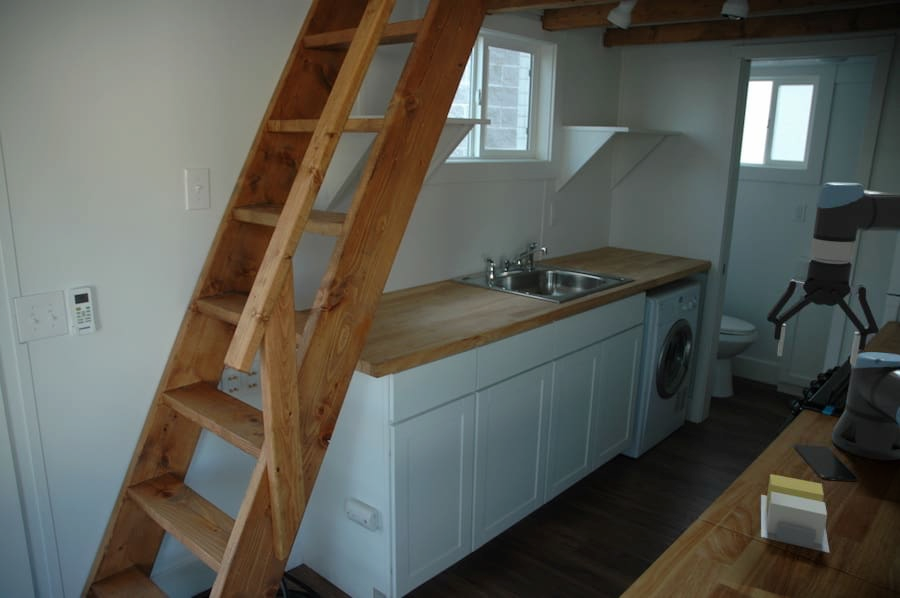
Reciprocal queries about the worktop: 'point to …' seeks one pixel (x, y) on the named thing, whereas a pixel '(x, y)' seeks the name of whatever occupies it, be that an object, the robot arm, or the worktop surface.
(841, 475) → the smartphone
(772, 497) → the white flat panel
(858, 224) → the robot arm
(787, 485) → the butter stick brick
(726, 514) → the worktop surface
